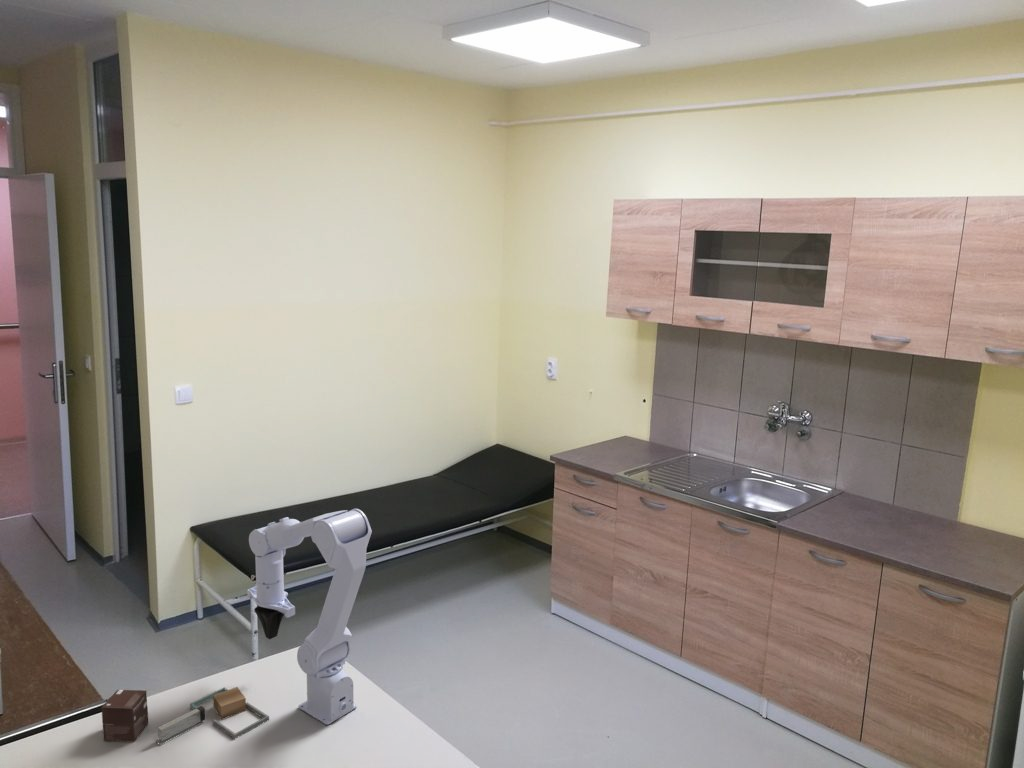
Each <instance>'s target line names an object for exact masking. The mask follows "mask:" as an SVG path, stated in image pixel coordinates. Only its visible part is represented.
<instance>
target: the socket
mask: <svg viewBox="0 0 1024 768" xmlns="http://www.w3.org/2000/svg"><path fill="white" fill-rule="evenodd" d="M246 709H248V710H250V711H252V712H254V714H256V713H257V714H256V715H258V716H259V715H260V716H259V717H260V718H261V719H259V720H257V721H255V722H253V723H251V724H250V725H248V726H246V727H245V728H243V729H241V730H239V731H236V732H234V731H233V730H231V729H230V728H228V727H226V726H225V725H224V724H222V723H221V722H219V721H218V720H217V719H213V720H212V722H213V723H212V724H213V725H214V724H215V726H216V727H217V726H218V727H219V729H220V730H221V729H222V732H224V731H225V732H224V733H226V735H228V734H229V735H228V736H230V737H231V736H232V737H231V738H232V739H235V738H236V739H237V738H239V737H241V736H243V735H245V734H246V733H248V732H249V731H252V730H253V728H254V729H255V728H257V727H258V725H259V726H261V725H262V723H263V722H264V723H266V722H268V721H270V716H269V715H268V714H266V713H264V712H263V711H261V709H258V708H257V707H255V706H254V705H252V704H251V703H249V702H246ZM262 717H263V718H262ZM267 720H268V721H267ZM202 723H203V724H204V720H203V721H201V722H199V723H197V724H195V725H193V726H191V727H189V728H187V729H185V730H183V731H181V732H179V733H177V734H175V735H173V736H172V737H170V738H168V739H166V740H164V741H161V740H159V739H157V740H155V743H156V742H157V743H159V746H162V745H163V743H164V744H165V742H166V741H168V740H170V739H172V738H174V737H176V736H178V735H179V736H181V735H183V734H185V733H187V732H189V731H191V730H193V729H195V728H196V726H197V727H199V726H200V725H202ZM264 723H263V724H264ZM260 724H261V725H260ZM198 725H199V726H198ZM194 727H195V728H194ZM218 727H217V728H218ZM192 728H193V729H192ZM190 729H191V730H190ZM251 729H252V730H251ZM188 730H189V731H188ZM186 731H187V732H186ZM184 732H185V733H184ZM182 733H183V734H182ZM180 734H181V735H180ZM242 734H243V735H242ZM179 736H178V737H179ZM238 736H239V737H238ZM176 738H177V737H176ZM174 739H175V738H174ZM172 740H173V739H172ZM170 741H171V740H170ZM168 742H169V741H168ZM157 743H156V744H157ZM166 743H167V742H166ZM161 744H162V745H161Z"/></svg>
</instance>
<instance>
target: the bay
mask: <svg viewBox="0 0 1024 768" xmlns="http://www.w3.org/2000/svg"><path fill="white" fill-rule="evenodd" d="M226 690H229V689H228V688H226V687H221V688H219V689H218V690H215V691H214V692H211V693H210V694H207V695H205V696H203V697H202V698H200V699H199V698H198V699H197V700H195V701H193V702H191V703H190V704H189V707H190V708H191V709H192V710H194V709H197V708H198V707H199V706H198V705H200V704H203V703H205V702H206V701H209V700H211V699H213V695H214V694H217V693H220V692H223V691H226Z"/></svg>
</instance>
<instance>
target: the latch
mask: <svg viewBox="0 0 1024 768" xmlns="http://www.w3.org/2000/svg"><path fill="white" fill-rule="evenodd" d="M197 707H198V708H197V709H194V710H193V709H192V710H190V711H189V712H186V713H185V714H182V715H180V716H178V717H177V718H174V719H172V720H171V721H169V722H166V723H164V724H163V725H160V726H159V727H157V733H158V735H157V736H158V740H161V741H164V740H166V739H168V738H170V737H172V736H173V735H175V734H177V733H179V732H181V731H183V730H185V729H187V728H189V727H191V726H193V725H195V724H197V723H199V722H201V721H203V722H204V721H206V708H205V706H202V705H201V706H197Z"/></svg>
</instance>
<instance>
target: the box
mask: <svg viewBox="0 0 1024 768" xmlns="http://www.w3.org/2000/svg"><path fill="white" fill-rule="evenodd" d="M147 696H148V695H147V690H142V689H141V690H137V689H136V690H133V689H131V690H130V689H117V690H116V691H115V692H114V693H113V694H112V695H111V696H110V697H109V698H108V699H107V701H106V702H104V704H103V705H102V706H101V719H102V731H103V732H102V733H103V741H105V742H128V743H132V742H133V743H134V742H135V741H136V740H137V739H138V738H137V737H140V735H141V734H142V733H143V731H145V730H146V728H147V726H148V725H149V712H148V711H149V710H148V708H149V707H148V697H147ZM141 732H142V733H141ZM130 741H131V742H130Z"/></svg>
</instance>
